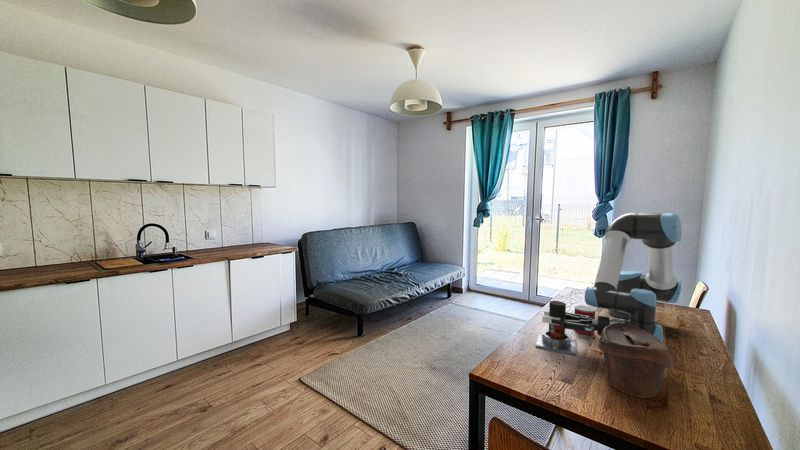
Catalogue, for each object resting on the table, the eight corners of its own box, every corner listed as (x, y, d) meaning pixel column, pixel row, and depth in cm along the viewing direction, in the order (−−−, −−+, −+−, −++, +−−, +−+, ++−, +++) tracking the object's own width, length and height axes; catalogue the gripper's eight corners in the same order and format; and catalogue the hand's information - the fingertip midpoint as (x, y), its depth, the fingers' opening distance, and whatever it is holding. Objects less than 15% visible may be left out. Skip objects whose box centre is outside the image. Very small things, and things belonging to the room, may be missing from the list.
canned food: (597, 336, 137) (598, 311, 136) (577, 334, 138) (578, 310, 138) (590, 329, 144) (591, 306, 143) (571, 327, 146) (572, 304, 145)
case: (651, 413, 86) (655, 350, 85) (583, 377, 104) (585, 324, 103) (686, 398, 93) (690, 340, 92) (617, 367, 111) (619, 318, 110)
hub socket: (539, 334, 138) (540, 326, 137) (575, 341, 131) (576, 332, 130) (535, 347, 126) (536, 337, 125) (575, 355, 119) (575, 345, 118)
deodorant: (546, 338, 128) (547, 303, 127) (551, 334, 132) (552, 299, 131) (562, 343, 124) (563, 306, 123) (566, 338, 128) (567, 302, 127)
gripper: (611, 346, 111) (540, 332, 122) (607, 328, 127) (545, 317, 138) (612, 326, 110) (541, 314, 122) (608, 310, 126) (545, 301, 138)
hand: (543, 316), depth 130 cm, fingers closed on deodorant, 6 cm apart
